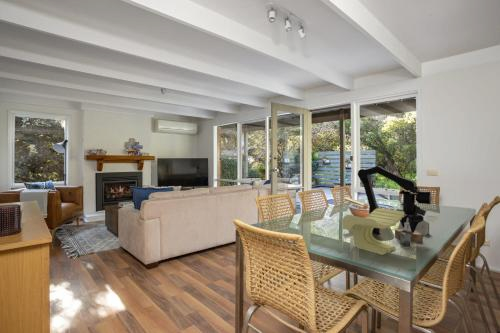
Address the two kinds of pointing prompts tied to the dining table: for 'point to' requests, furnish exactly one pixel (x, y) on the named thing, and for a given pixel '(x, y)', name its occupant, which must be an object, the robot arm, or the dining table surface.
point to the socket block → (414, 236)
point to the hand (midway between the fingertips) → (408, 230)
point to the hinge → (419, 227)
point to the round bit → (405, 239)
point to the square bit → (407, 227)
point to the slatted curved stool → (366, 225)
